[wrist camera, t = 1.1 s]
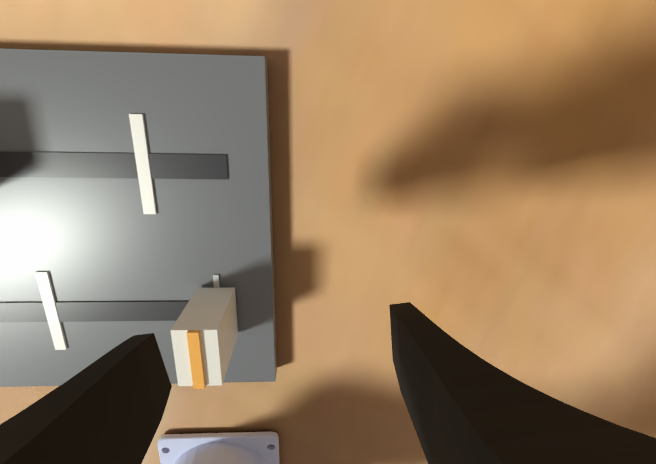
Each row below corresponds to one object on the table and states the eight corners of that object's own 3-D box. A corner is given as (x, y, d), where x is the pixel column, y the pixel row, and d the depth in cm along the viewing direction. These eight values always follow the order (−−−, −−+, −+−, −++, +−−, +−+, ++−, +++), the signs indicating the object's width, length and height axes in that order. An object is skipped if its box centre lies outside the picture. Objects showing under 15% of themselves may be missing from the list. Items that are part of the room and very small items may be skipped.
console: (276, 368, 23) (275, 382, 22) (-18, 373, 22) (-38, 389, 21) (267, 59, 17) (264, 55, 16) (-131, 48, 16) (-168, 43, 15)
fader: (238, 334, 20) (221, 388, 16) (202, 335, 20) (176, 389, 16) (234, 287, 20) (215, 332, 16) (197, 287, 19) (168, 332, 15)
